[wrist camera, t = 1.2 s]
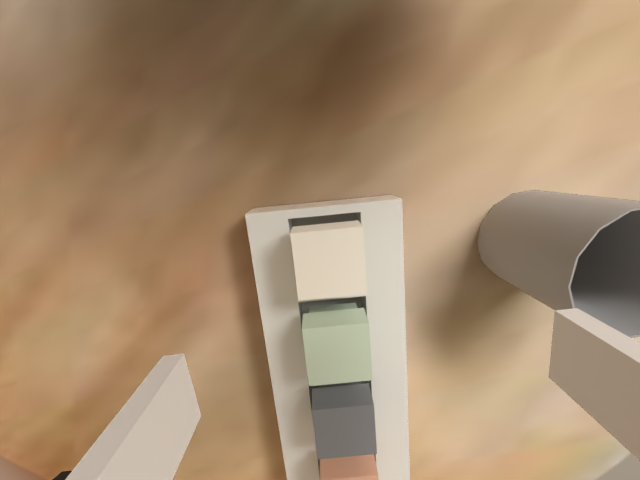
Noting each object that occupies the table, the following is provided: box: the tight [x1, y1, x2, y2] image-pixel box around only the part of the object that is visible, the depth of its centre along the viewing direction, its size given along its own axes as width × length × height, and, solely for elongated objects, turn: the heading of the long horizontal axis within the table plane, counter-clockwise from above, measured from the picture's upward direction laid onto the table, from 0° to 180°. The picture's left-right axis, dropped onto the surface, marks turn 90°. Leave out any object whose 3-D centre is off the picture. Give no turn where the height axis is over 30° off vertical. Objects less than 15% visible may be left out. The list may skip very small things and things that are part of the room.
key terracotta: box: [320, 454, 379, 480], centre depth 27 cm, size 5×5×4 cm
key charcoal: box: [312, 381, 377, 460], centre depth 25 cm, size 5×5×4 cm
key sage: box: [302, 303, 372, 386], centre depth 23 cm, size 5×5×4 cm
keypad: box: [245, 195, 410, 480], centre depth 27 cm, size 28×12×4 cm, turn 5°
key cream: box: [290, 220, 367, 301], centre depth 22 cm, size 5×5×4 cm
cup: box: [477, 190, 640, 338], centre depth 22 cm, size 8×8×10 cm
